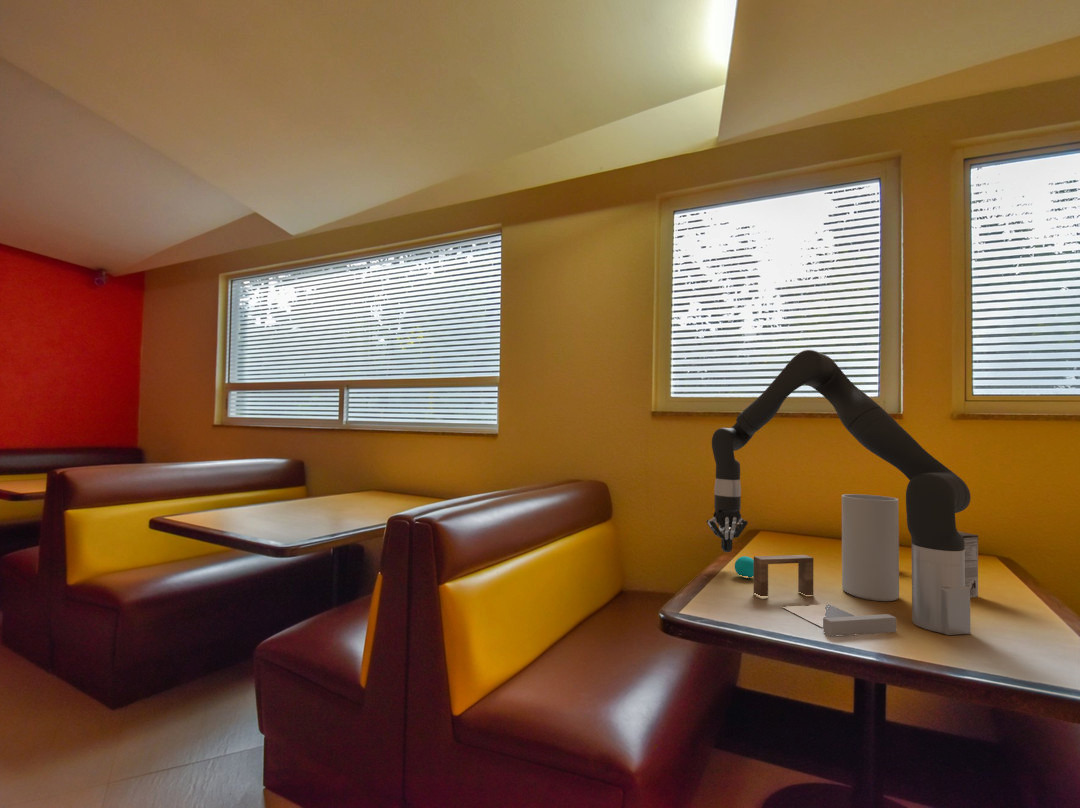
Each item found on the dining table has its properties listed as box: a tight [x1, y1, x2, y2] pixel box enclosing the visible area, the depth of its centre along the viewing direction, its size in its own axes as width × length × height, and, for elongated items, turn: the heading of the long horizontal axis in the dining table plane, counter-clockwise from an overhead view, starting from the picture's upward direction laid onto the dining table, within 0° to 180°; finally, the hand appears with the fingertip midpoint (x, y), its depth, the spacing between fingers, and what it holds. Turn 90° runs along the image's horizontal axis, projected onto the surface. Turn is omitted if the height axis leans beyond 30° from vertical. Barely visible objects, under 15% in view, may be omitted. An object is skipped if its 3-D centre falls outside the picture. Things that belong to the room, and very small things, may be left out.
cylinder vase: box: [841, 493, 900, 602], centre depth 136 cm, size 12×12×25 cm
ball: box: [734, 555, 754, 578], centre depth 148 cm, size 6×6×6 cm
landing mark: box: [824, 603, 855, 618], centre depth 119 cm, size 13×13×1 cm
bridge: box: [753, 554, 814, 597], centre depth 133 cm, size 3×15×10 cm, turn 102°
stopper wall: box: [822, 613, 897, 637], centre depth 109 cm, size 2×16×3 cm, turn 102°
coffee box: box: [958, 531, 979, 599], centre depth 139 cm, size 9×6×16 cm
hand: (726, 551), depth 158 cm, fingers closed
